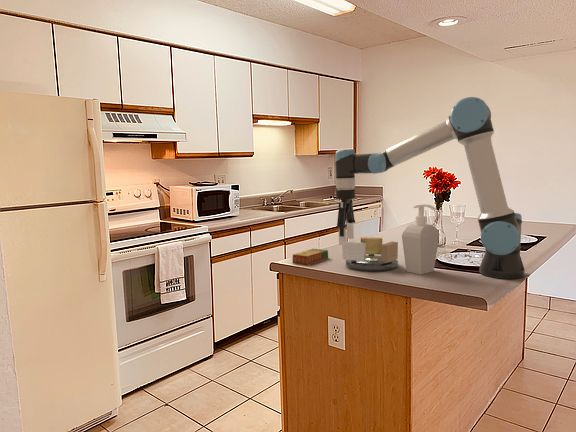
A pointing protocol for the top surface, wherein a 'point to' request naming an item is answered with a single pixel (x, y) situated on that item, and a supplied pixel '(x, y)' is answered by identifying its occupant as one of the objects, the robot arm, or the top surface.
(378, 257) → the dark grey plate
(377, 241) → the olive yellow block
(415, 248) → the soap bottle
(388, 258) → the tan rectangular block
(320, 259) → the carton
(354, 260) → the knob
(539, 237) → the top surface
